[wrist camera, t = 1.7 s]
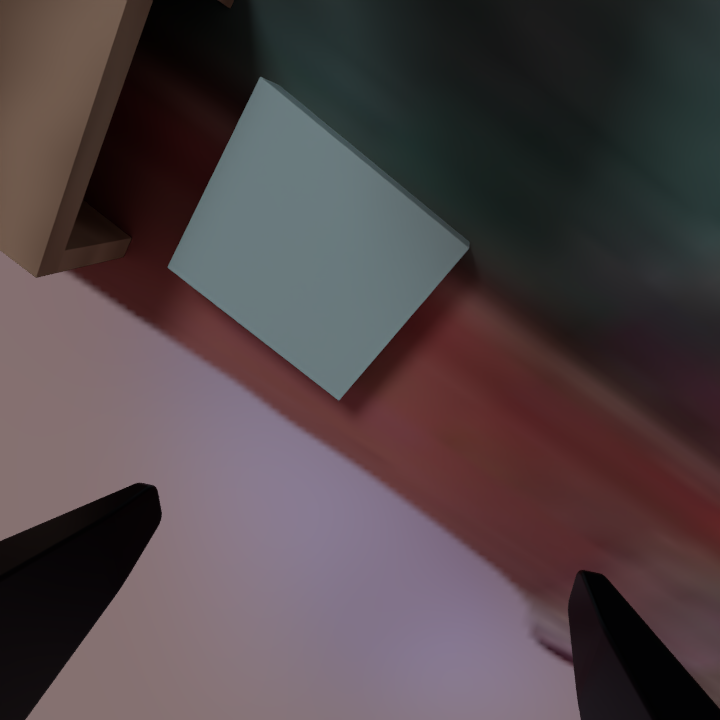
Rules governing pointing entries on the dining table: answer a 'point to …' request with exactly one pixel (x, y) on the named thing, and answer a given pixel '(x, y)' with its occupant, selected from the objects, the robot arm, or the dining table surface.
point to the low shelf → (60, 125)
